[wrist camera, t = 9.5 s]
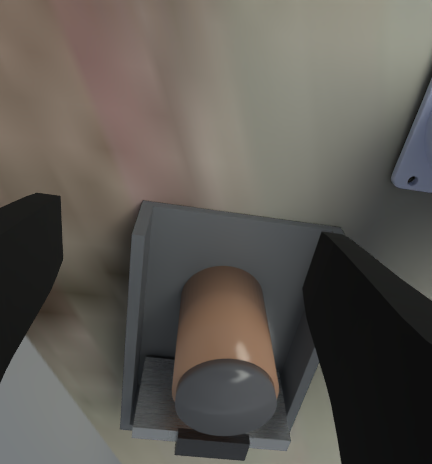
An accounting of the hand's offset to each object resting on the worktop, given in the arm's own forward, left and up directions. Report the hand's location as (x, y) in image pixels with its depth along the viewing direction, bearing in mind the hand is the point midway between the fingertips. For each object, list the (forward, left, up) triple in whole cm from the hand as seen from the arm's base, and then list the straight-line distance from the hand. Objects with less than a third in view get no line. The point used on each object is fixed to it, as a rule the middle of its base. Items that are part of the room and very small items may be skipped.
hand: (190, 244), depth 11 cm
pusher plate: (-3, +16, -10) cm, 19 cm away
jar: (-3, +10, -9) cm, 14 cm away
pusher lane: (-3, +12, -10) cm, 15 cm away
